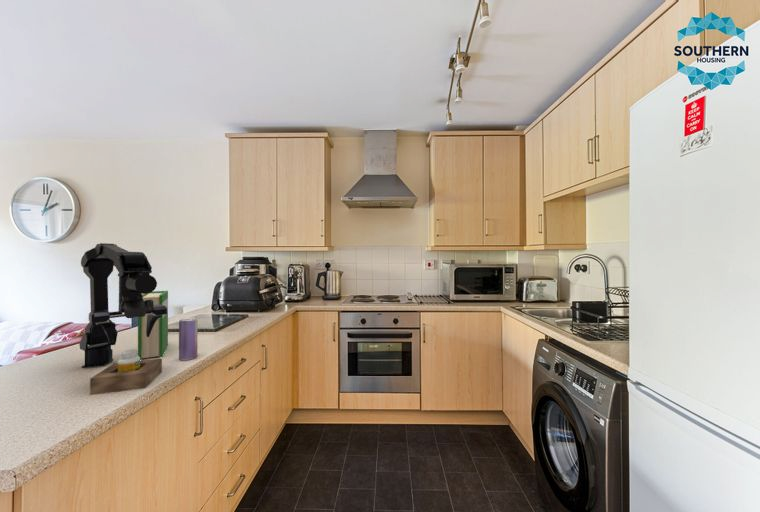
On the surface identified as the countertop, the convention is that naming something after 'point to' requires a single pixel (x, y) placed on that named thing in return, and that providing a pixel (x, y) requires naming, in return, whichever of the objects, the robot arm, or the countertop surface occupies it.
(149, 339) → the hardback book
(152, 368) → the well block
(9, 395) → the countertop surface
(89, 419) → the countertop surface
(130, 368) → the supplement bottle
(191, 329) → the beverage can
